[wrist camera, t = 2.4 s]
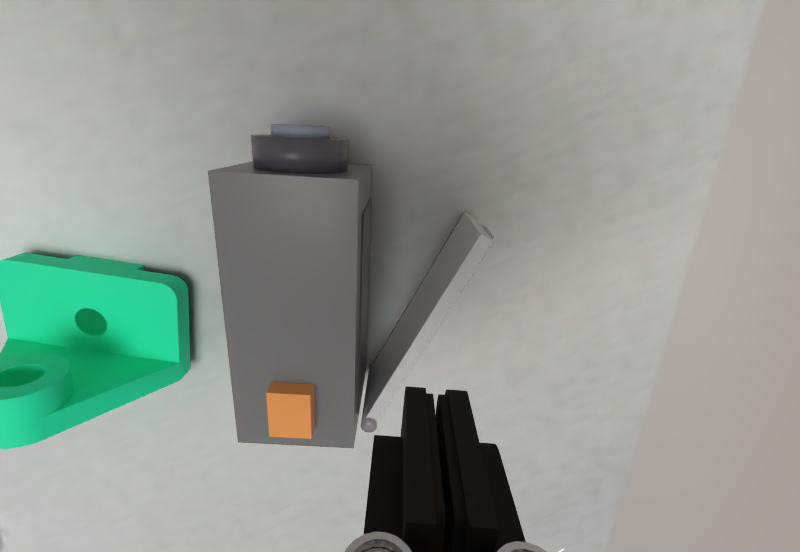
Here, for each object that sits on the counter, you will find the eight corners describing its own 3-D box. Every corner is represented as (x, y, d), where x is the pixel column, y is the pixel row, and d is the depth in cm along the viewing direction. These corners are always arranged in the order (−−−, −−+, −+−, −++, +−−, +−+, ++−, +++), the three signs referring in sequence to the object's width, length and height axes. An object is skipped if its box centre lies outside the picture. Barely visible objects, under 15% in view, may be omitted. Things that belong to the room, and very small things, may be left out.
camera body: (262, 122, 25) (190, 119, 17) (374, 129, 25) (359, 129, 17) (277, 367, 31) (231, 454, 23) (366, 372, 31) (353, 461, 23)
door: (462, 210, 27) (479, 234, 21) (480, 220, 27) (502, 246, 21) (367, 370, 31) (358, 428, 25) (382, 378, 31) (377, 436, 25)
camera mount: (195, 272, 29) (90, 344, 19) (197, 360, 31) (105, 462, 22) (26, 246, 28) (-169, 306, 19) (43, 338, 31) (-121, 433, 21)
